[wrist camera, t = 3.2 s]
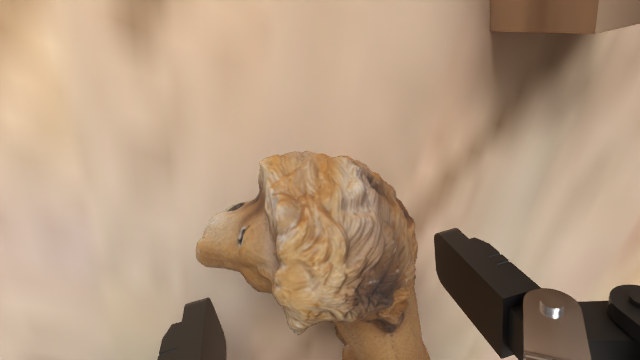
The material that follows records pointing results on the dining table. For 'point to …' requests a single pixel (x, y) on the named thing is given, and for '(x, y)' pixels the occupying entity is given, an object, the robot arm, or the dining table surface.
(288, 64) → the dining table surface
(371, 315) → the lion figurine
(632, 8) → the walnut block
